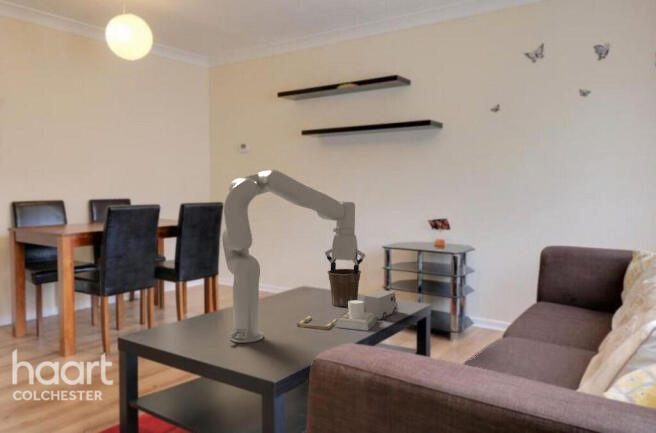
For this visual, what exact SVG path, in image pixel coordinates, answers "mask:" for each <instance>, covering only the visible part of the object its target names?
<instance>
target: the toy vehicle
mask: <svg viewBox="0 0 656 433" xmlns="http://www.w3.org/2000/svg"><path fill="white" fill-rule="evenodd" d="M395 292H396V291H391V290H390V291H389V290H383V289H379V290H377V291H373V292H370V293H368V294H367V293H366V294H365V295H364V300H363V301H364V302H365V303H364V312H365V313H374V316H377V320H381V319H386V318H387V316H389V315H391V314H394V315H395V314H396V313H397V311H398V309H399V307H398V305H399V304H398V302H397V301H396V300H397V299H396V293H395Z"/></svg>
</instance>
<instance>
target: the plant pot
mask: <svg viewBox="0 0 656 433" xmlns="http://www.w3.org/2000/svg"><path fill="white" fill-rule="evenodd" d="M327 274H328V280H329V285H330V286H329V287H330V294H331V304H332V305H333V306H334V307H344V308H348V301H351V300H359V299H358V298H359V285H360V284H359V283H360V280H361V279H360V278H361V274H362V271H361V269H360V270H359V272H358V274H357V275H354V268H336V272H334V273H331V269H330V270H328V271H327Z"/></svg>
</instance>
